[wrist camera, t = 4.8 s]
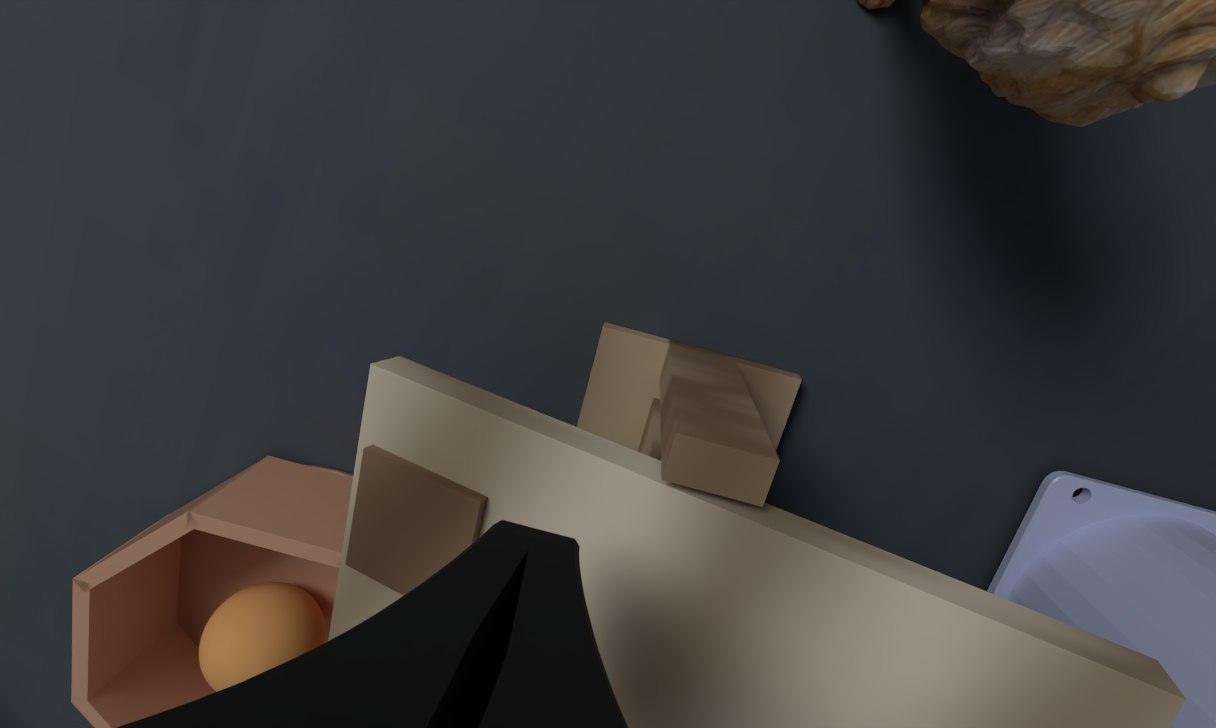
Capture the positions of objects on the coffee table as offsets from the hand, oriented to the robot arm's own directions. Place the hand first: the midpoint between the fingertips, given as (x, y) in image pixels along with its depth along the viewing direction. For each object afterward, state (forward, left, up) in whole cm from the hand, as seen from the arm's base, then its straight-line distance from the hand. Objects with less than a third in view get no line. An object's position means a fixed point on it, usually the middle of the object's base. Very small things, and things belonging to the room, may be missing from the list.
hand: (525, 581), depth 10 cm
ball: (+8, +10, -8) cm, 15 cm away
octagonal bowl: (+7, +10, -10) cm, 16 cm away
